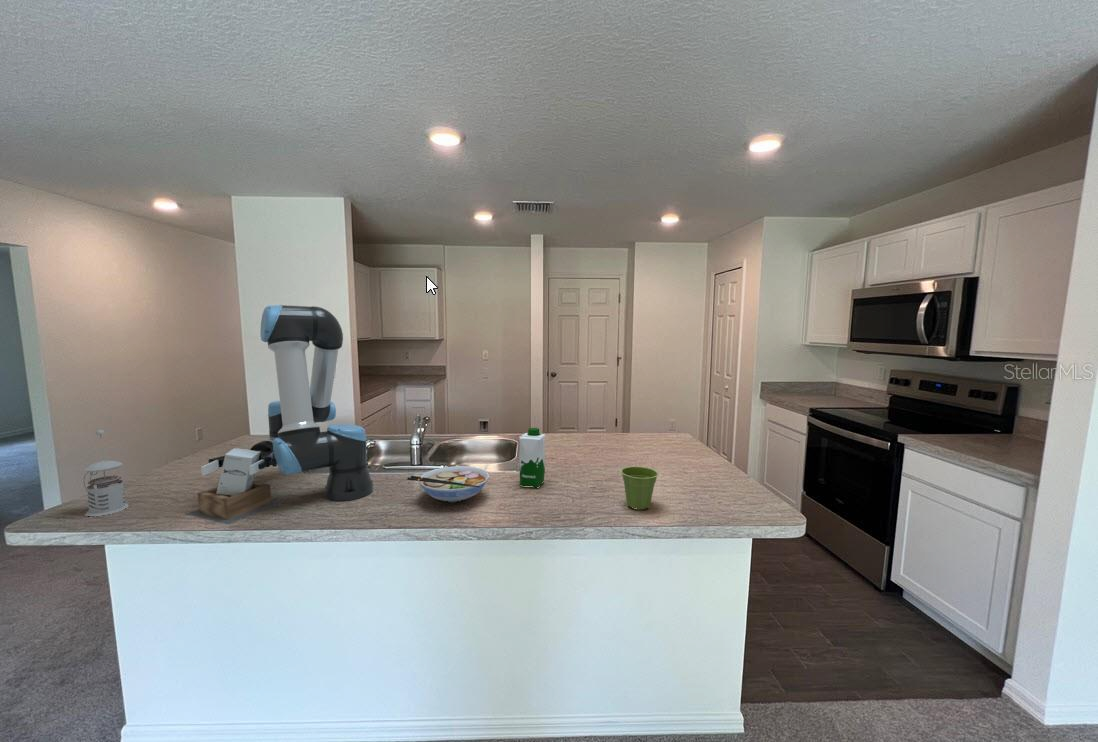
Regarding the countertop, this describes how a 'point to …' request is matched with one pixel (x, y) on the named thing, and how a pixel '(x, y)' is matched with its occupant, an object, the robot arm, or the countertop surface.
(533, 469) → the milk carton
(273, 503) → the mat
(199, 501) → the tray
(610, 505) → the countertop surface
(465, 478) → the ramen bowl
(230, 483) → the supplement box
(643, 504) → the plant pot
